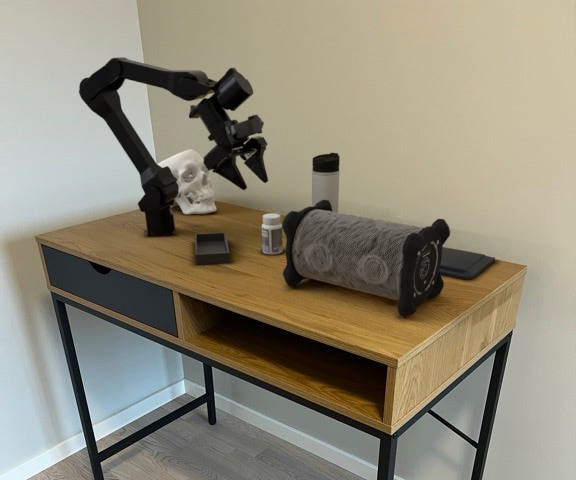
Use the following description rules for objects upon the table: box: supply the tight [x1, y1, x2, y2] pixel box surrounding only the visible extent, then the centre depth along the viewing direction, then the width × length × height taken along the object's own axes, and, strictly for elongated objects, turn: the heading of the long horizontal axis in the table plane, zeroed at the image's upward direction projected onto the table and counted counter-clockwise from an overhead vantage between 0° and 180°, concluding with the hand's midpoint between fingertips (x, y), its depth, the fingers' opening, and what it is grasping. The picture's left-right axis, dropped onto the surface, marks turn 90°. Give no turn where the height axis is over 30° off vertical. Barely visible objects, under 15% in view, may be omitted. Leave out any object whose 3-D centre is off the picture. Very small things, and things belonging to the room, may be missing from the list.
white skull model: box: [157, 148, 217, 216], centre depth 170 cm, size 14×20×19 cm
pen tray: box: [194, 231, 231, 266], centre depth 137 cm, size 16×8×2 cm, turn 8°
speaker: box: [281, 200, 451, 318], centre depth 112 cm, size 15×28×15 cm, turn 53°
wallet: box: [440, 246, 496, 281], centre depth 130 cm, size 20×2×15 cm
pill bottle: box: [261, 212, 284, 255], centre depth 136 cm, size 5×5×8 cm
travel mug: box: [311, 152, 341, 213], centre depth 139 cm, size 6×7×20 cm
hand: (256, 185), depth 135 cm, fingers open, 9 cm apart
